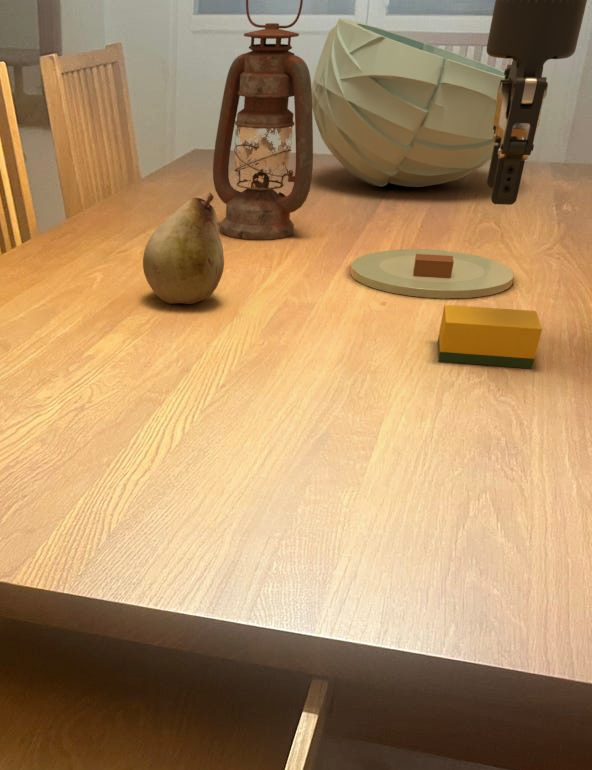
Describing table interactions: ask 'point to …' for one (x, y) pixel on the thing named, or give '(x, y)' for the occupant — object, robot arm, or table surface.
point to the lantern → (265, 110)
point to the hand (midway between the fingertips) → (500, 195)
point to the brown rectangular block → (433, 266)
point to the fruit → (185, 254)
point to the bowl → (402, 107)
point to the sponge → (488, 336)
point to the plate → (397, 277)
